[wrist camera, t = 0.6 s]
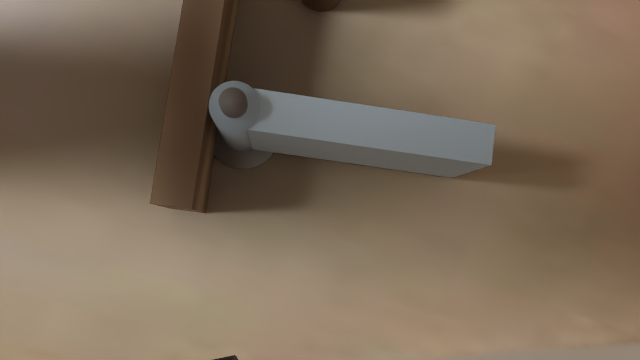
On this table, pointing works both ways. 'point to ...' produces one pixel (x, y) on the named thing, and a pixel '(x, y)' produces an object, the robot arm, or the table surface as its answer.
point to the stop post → (321, 4)
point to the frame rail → (199, 108)
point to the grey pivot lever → (354, 133)
